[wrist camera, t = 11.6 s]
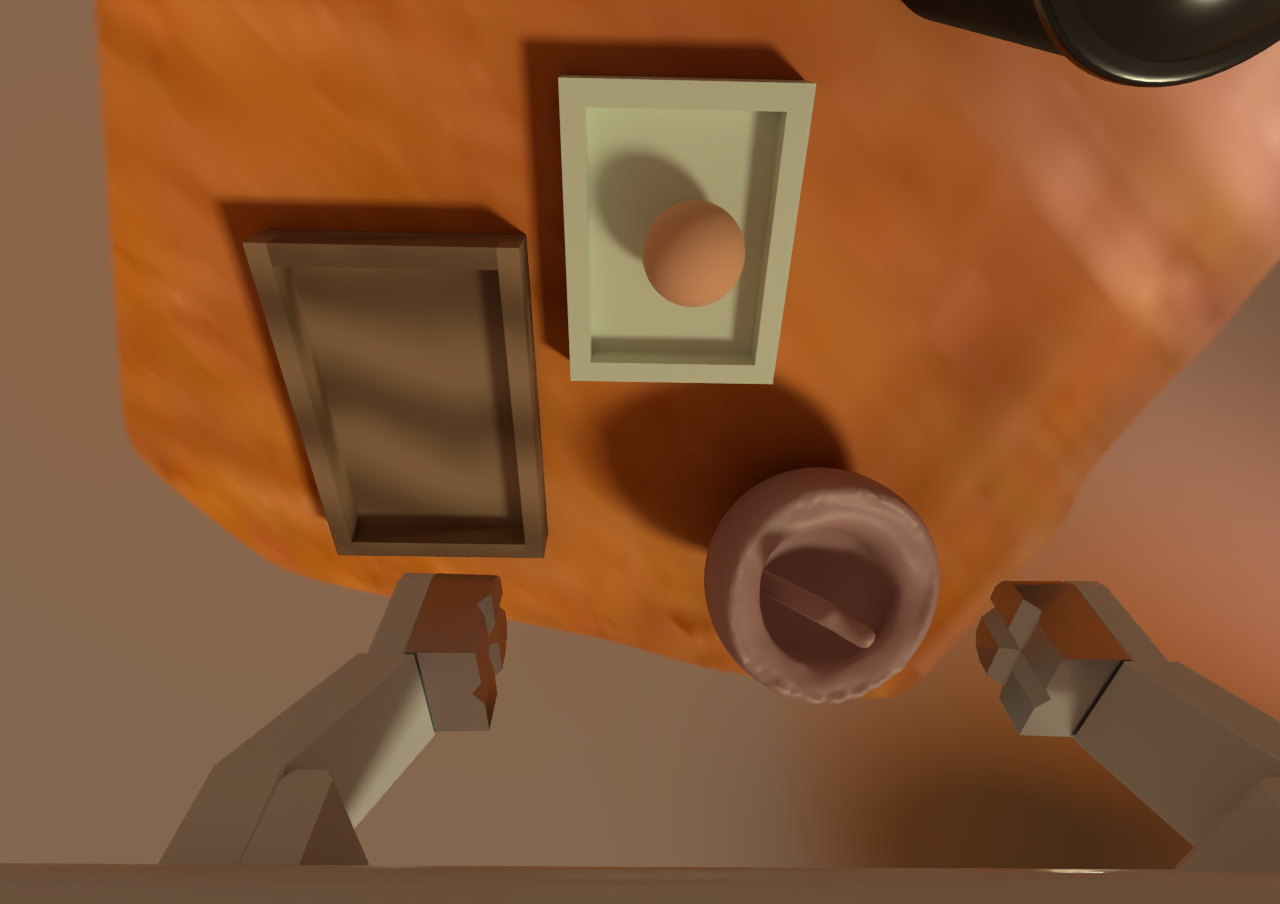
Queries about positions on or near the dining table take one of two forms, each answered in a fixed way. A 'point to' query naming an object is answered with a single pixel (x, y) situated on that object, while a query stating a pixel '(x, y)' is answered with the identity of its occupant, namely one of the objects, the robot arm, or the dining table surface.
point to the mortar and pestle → (821, 583)
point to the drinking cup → (1124, 33)
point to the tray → (657, 179)
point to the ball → (693, 253)
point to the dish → (411, 386)
